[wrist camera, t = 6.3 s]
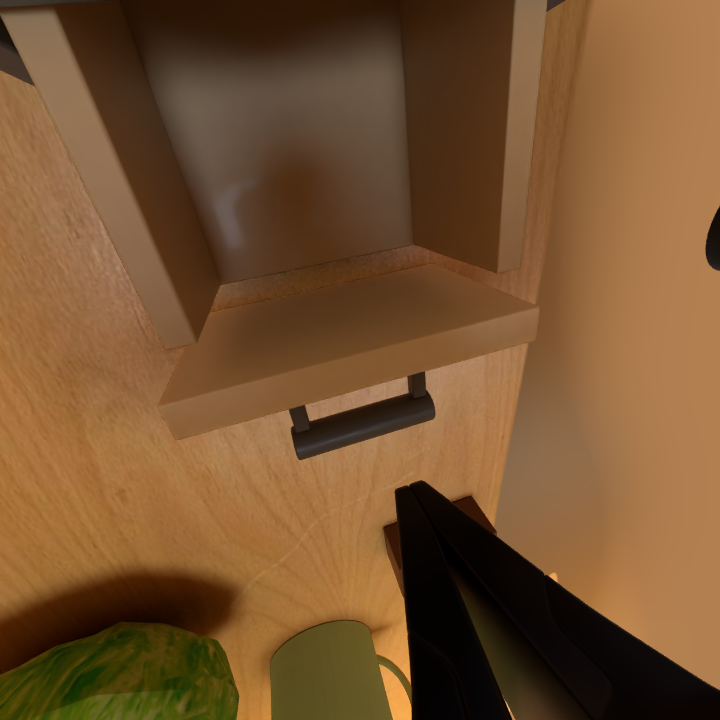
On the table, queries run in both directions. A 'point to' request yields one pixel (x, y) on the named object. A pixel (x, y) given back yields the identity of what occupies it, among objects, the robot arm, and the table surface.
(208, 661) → the lettuce
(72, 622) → the table surface
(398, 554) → the chocolate bar
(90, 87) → the drawer
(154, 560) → the table surface
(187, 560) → the table surface
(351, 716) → the mug
